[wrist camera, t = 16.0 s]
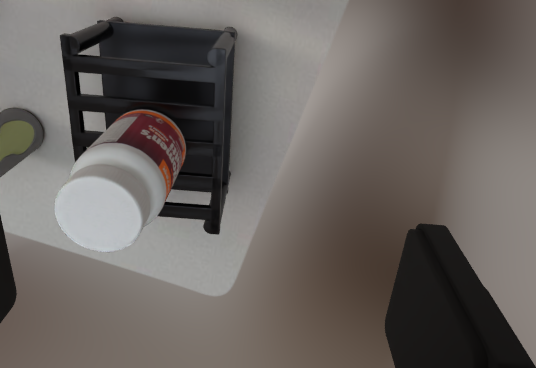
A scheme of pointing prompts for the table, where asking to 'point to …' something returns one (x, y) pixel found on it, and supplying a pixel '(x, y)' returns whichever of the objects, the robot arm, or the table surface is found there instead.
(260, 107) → the table surface
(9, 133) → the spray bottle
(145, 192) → the pill bottle
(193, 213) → the rack
